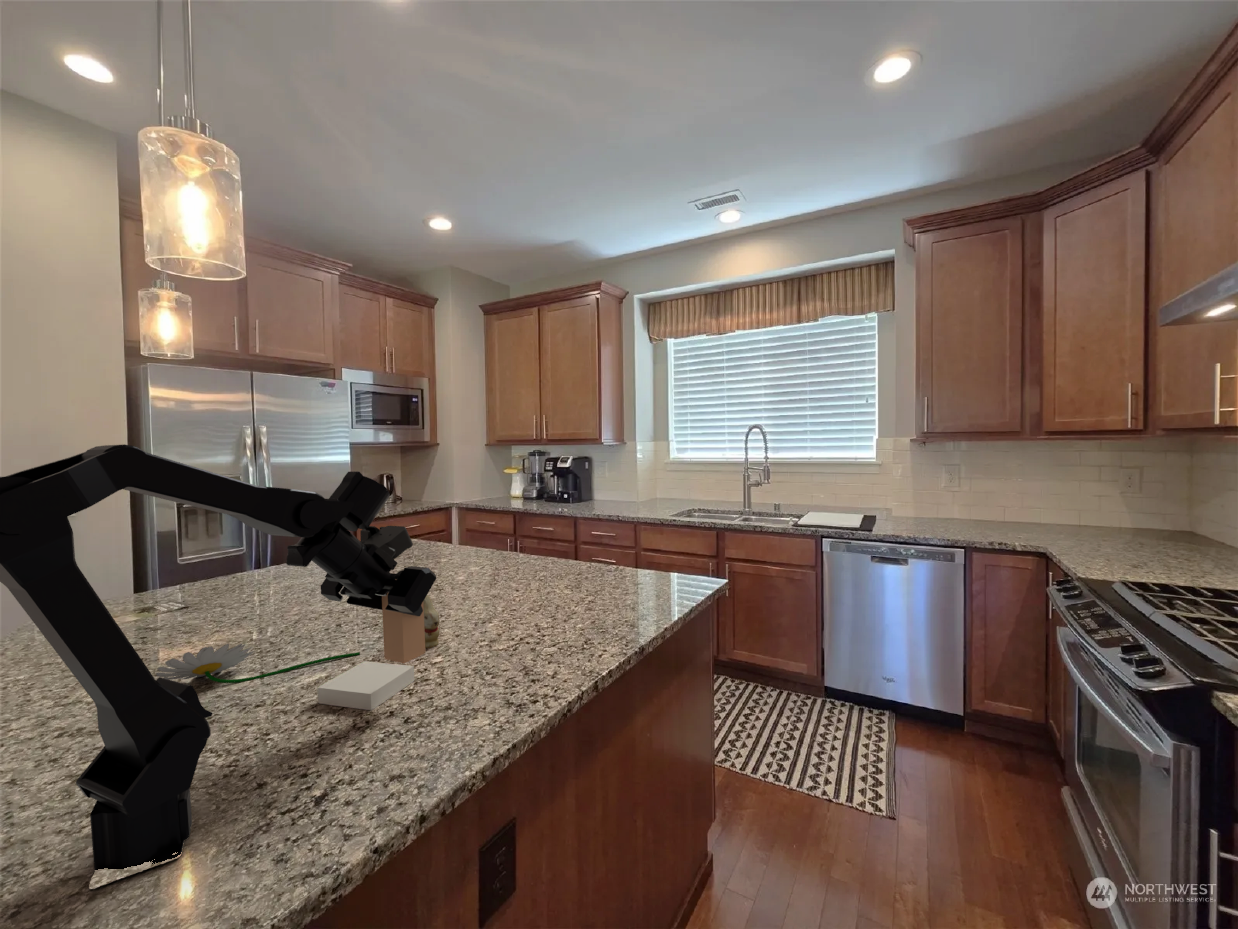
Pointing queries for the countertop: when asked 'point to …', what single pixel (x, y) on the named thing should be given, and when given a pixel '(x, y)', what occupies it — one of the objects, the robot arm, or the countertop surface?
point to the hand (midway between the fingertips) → (410, 611)
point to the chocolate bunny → (430, 623)
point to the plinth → (366, 685)
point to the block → (402, 634)
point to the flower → (220, 664)
